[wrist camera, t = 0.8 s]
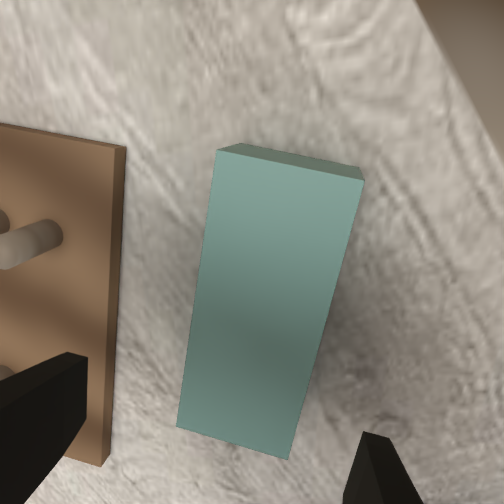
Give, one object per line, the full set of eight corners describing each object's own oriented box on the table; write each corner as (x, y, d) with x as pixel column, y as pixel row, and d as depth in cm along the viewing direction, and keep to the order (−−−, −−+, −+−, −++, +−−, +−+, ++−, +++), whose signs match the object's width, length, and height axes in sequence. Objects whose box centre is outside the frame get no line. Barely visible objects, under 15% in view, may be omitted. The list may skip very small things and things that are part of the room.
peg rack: (110, 454, 24) (68, 514, 21) (-24, 414, 26) (-85, 464, 22) (126, 146, 18) (71, 154, 15) (-50, 113, 19) (-142, 112, 16)
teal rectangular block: (296, 399, 21) (287, 460, 17) (203, 373, 22) (175, 426, 18) (358, 166, 17) (364, 180, 13) (242, 142, 18) (216, 149, 14)
